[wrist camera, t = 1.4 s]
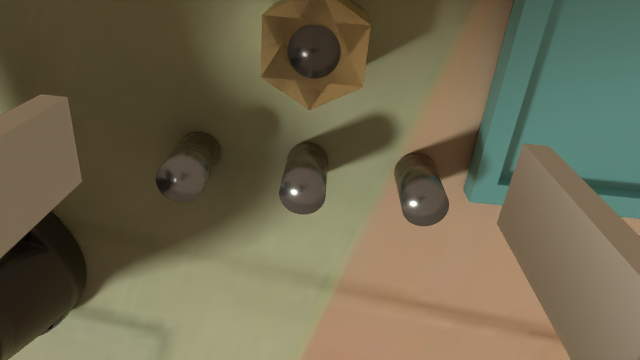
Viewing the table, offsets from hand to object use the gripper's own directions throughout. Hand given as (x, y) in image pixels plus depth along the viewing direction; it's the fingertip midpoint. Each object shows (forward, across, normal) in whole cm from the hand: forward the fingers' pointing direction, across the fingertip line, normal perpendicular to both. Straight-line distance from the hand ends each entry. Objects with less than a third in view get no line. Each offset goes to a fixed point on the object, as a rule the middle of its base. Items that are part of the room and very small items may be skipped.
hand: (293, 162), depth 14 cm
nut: (+19, 0, 0) cm, 19 cm away
